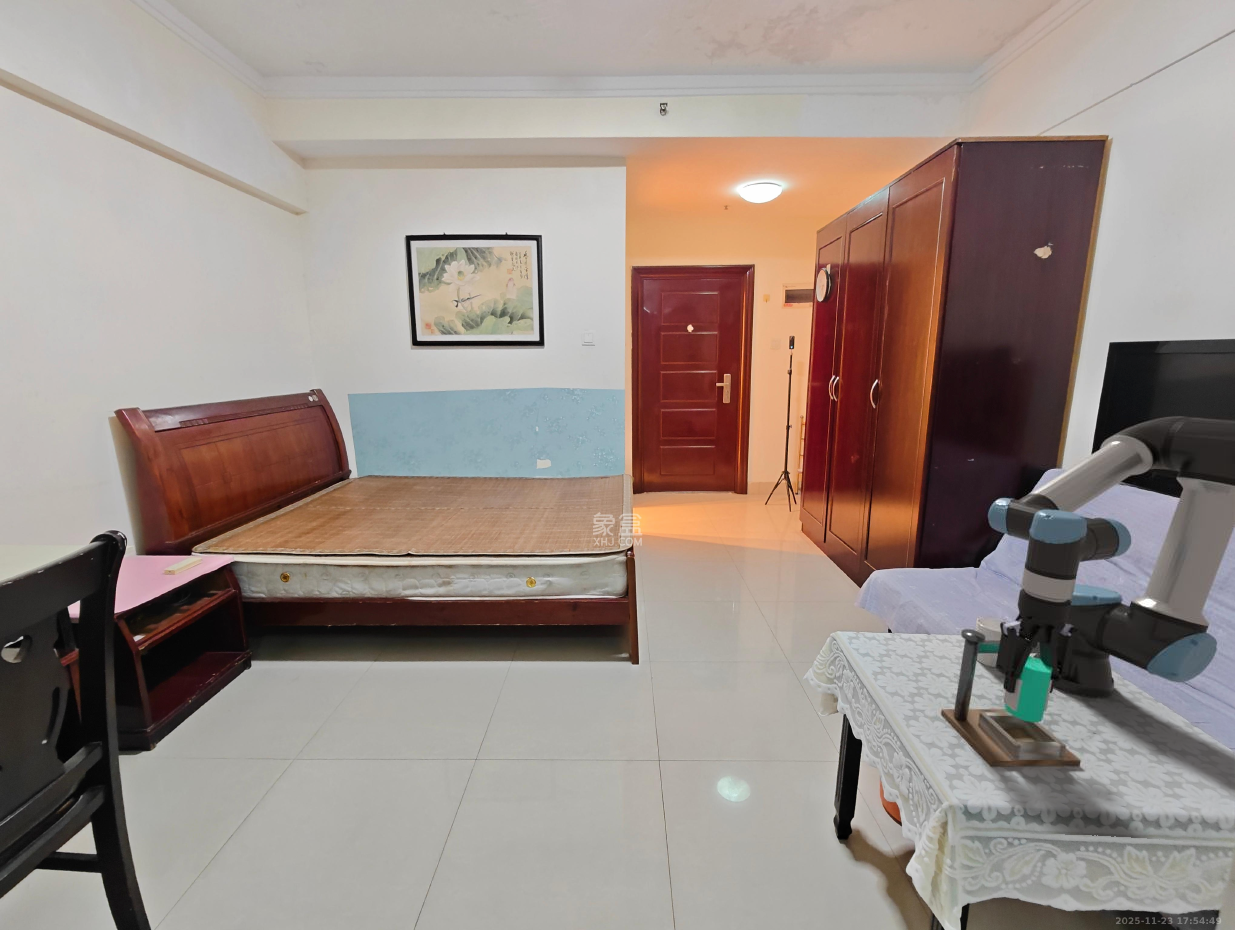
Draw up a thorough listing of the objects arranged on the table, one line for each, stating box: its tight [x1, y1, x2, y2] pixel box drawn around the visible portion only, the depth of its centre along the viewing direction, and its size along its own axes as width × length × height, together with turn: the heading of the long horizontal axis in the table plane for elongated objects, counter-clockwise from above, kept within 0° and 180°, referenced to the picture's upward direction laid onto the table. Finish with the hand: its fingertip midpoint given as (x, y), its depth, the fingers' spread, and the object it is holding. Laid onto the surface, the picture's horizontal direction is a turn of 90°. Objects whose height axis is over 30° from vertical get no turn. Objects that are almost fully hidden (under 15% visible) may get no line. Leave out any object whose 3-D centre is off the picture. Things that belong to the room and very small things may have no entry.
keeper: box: [953, 628, 1040, 721], centre depth 109 cm, size 18×4×19 cm, turn 91°
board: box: [940, 708, 1082, 767], centre depth 106 cm, size 17×15×4 cm
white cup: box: [975, 616, 1009, 668], centre depth 134 cm, size 8×8×10 cm
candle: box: [1003, 654, 1052, 723], centre depth 102 cm, size 6×6×12 cm
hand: (1024, 706), depth 103 cm, fingers closed on candle, 5 cm apart
